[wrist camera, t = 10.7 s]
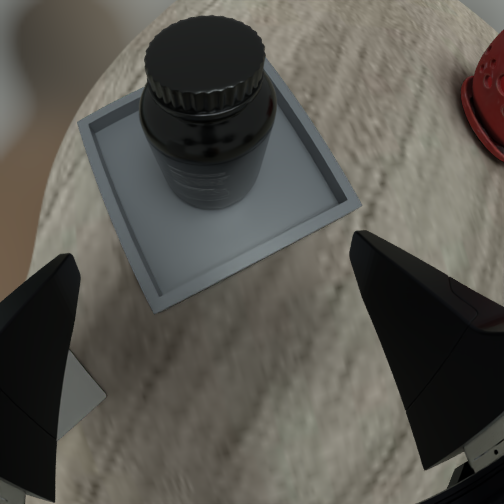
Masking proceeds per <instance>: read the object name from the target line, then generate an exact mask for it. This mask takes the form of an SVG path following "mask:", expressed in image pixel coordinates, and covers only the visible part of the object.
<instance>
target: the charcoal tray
mask: <svg viewBox="0 0 504 504" xmlns="http://www.w3.org/2000/svg"><path fill="white" fill-rule="evenodd" d="M264 72H265V73H266V74H267V76H268V77H269V79H270V80H271V82H272V84H273V87H274V89H275V92H276V98H277V111H276V117H275V121H274V125H273V128H272V132H271V135H270V138H269V142H268V145H267V148H266V152H265V155H264V159H263V162H262V166H261V169H260V172H259V175H258V178H257V180H256V182H255V184H254V186H253V187H252V189H251V190H250V191H249V192H248V193H247V194H246V195H245V196H244V197H243V198H242V199H240V200H239V201H237V202H235V203H233V204H231V205H229V206H226V207H222V208H215V209H206V208H199V207H195V206H192V205H190V204H188V203H186V202H184V201H183V200H181V199H180V198H179V197H178V196H177V195H176V194H175V193H174V192H173V191H172V190H171V188H170V187H169V185H168V183H167V181H166V180H165V178H164V175H163V173H162V171H161V169H160V167H159V165H158V163H157V161H156V158H155V156H154V154H153V152H152V150H151V148H150V146H149V143H148V141H147V139H146V137H145V135H144V132H143V129H142V127H141V123H140V120H139V102H140V97H141V94H142V91H143V89H144V87H143V88H141V89H139V90H137V91H134V92H132V93H130V94H128V95H126V96H124V97H122V98H120V99H118V100H116V101H114V102H112V103H110V104H109V105H107V106H105V107H103V108H101V109H99V110H97V111H96V112H94V113H92V114H90V115H88V116H87V117H85V118H83V119H81V120H80V121H78V122H77V124H78V127H79V131H80V134H81V137H82V140H83V143H84V147H85V150H86V153H87V156H88V159H89V162H90V165H91V167H92V170H93V173H94V176H95V179H96V182H97V184H98V187H99V190H100V193H101V195H102V198H103V200H104V203H105V206H106V208H107V211H108V213H109V216H110V218H111V221H112V223H113V226H114V228H115V231H116V233H117V235H118V238H119V240H120V242H121V245H122V247H123V249H124V252H125V254H126V256H127V258H128V261H129V263H130V265H131V267H132V270H133V272H134V274H135V276H136V278H137V280H138V282H139V285H140V287H141V289H142V291H143V293H144V295H145V297H146V299H147V301H148V303H149V305H150V307H151V309H152V311H153V313H154V314H157V313H160V312H162V311H164V310H166V309H168V308H170V307H172V306H174V305H176V304H178V303H180V302H181V301H183V300H185V299H187V298H189V297H191V296H193V295H195V294H197V293H199V292H201V291H203V290H205V289H207V288H209V287H211V286H213V285H214V284H216V283H218V282H220V281H222V280H224V279H226V278H228V277H230V276H232V275H234V274H236V273H238V272H240V271H241V270H243V269H245V268H247V267H249V266H251V265H253V264H255V263H257V262H259V261H261V260H263V259H264V258H266V257H268V256H270V255H272V254H274V253H276V252H278V251H280V250H282V249H284V248H285V247H287V246H289V245H291V244H293V243H295V242H297V241H299V240H301V239H303V238H304V237H306V236H308V235H310V234H312V233H314V232H316V231H318V230H320V229H321V228H323V227H325V226H327V225H329V224H331V223H333V222H335V221H336V220H338V219H340V218H342V217H344V216H346V215H348V214H350V213H351V212H353V211H355V210H356V209H358V208H359V207H361V206H362V204H361V202H360V200H359V199H358V197H357V195H356V193H355V191H354V190H353V188H352V186H351V184H350V183H349V181H348V179H347V178H346V176H345V174H344V172H343V171H342V169H341V167H340V166H339V164H338V162H337V161H336V159H335V157H334V156H333V154H332V152H331V151H330V149H329V148H328V146H327V144H326V143H325V141H324V140H323V138H322V137H321V135H320V133H319V132H318V130H317V129H316V127H315V126H314V124H313V123H312V121H311V120H310V118H309V117H308V115H307V114H306V112H305V111H304V109H303V108H302V106H301V105H300V103H299V102H298V101H297V99H296V98H295V96H294V95H293V93H292V92H291V91H290V89H289V88H288V86H287V85H286V84H285V82H284V81H283V80H282V78H281V77H280V76H279V74H278V73H277V71H276V70H275V69H274V67H273V66H272V65H271V64H270V62H269V61H268V60H267V58H266V57H265V62H264Z"/></svg>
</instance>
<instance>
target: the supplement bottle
mask: <svg viewBox="0 0 504 504" xmlns="http://www.w3.org/2000/svg"><path fill="white" fill-rule="evenodd" d="M264 51H265V46H264V45H263V43H262V39H261V38H260V37H259V36H258V35H257V32H256V31H254V30H252V28H251V27H250V26H248V25H245V24H244V23H243V22H241V21H236V20H235V19H233V18H226V17H224V16H213V15H210V16H198V17H190V18H188V19H185V20H180V21H178V22H177V23H174V24H171V25H170V26H169V27H167V28H165V29H163V30H162V31H161V32H160V33H159V34H157V35H156V36H155V37H154V40H152V41H151V42H150V44H149V47H148V48H147V50H146V56H145V58H144V62H145V71H146V75H147V83H146V85H145V87H144V89H143V91H142V94H141V97H140V102H139V120H140V123H141V127H142V129H143V132H144V135H145V137H146V139H147V141H148V143H149V146H150V148H151V150H152V152H153V154H154V156H155V158H156V161H157V163H158V165H159V167H160V169H161V171H162V173H163V175H164V178H165V180H166V181H167V183H168V185H169V187H170V188H171V190H172V191H173V192H174V193H175V194H176V195H177V196H178V197H179V198H180V199H181V200H183V201H184V202H186V203H188V204H190V205H192V206H195V207H199V208H206V209H215V208H222V207H226V206H229V205H231V204H233V203H235V202H237V201H239V200H240V199H242V198H243V197H244V196H245V195H246V194H247V193H248V192H249V191H250V190H251V189H252V187H253V186H254V184H255V182H256V180H257V178H258V175H259V172H260V169H261V166H262V162H263V159H264V155H265V152H266V148H267V145H268V142H269V138H270V135H271V132H272V128H273V125H274V121H275V117H276V111H277V98H276V92H275V89H274V87H273V84H272V82H271V80H270V79H269V77H268V76H267V74H266V73H265V72H264V62H265V57H266V55H265V52H264Z"/></svg>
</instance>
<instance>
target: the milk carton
mask: <svg viewBox="0 0 504 504" xmlns="http://www.w3.org/2000/svg"><path fill="white" fill-rule="evenodd" d="M105 398H106V394H105V393H104V391H103V390H102V389H101V388H100V387H99V386H98V384H97V383H96V382H95V381H94V380H93V379H92V377H91V376H90V375H89V374H88V373H87V371H86V370H85V369H84V368H83V366H82V365H81V364H80V363H79V361H78V360H77V359H76V358H75V356H74V355H73V354H72V352H71V351H70V350H69V351H68V357H67V362H66V368H65V374H64V381H63V388H62V395H61V403H60V411H59V421H58V432H57V441H58V440H59V439H60V438H62V437H63V436H64V435H65V434H66V433H67V432H68V431H69V430H71V429H72V428H73V427H74V426H75V425H76V424H77V423H78V422H80V421H81V420H82V419H83V418H84V417H85V416H86V415H87V414H88V413H90V412H91V411H92V410H93V409H94V408H95V407H96V406H97V405H98V404H100V403H101V402H102V401H103V400H104V399H105Z"/></svg>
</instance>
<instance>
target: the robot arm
mask: <svg viewBox="0 0 504 504" xmlns="http://www.w3.org/2000/svg"><path fill="white" fill-rule="evenodd" d="M349 257H350V261H351V264H352V267H353V270H354V274H355V277H356V280H357V283H358V286H359V290H360V293H361V296H362V299H363V301H364V304H365V306H366V308H367V311H368V313H369V315H370V318H371V320H372V323H373V325H374V328H375V330H376V332H377V335H378V337H379V340H380V342H381V345H382V348H383V350H384V353H385V355H386V358H387V360H388V363H389V366H390V368H391V371H392V374H393V377H394V379H395V382H396V385H397V388H398V390H399V393H400V396H401V399H402V402H403V405H404V408H405V410H406V414H407V417H408V420H409V423H410V426H411V429H412V432H413V436H414V439H415V442H416V445H417V449H418V452H419V455H420V459H421V462H422V465H423V468H424V470H428V469H430V468H432V467H434V466H436V465H438V464H440V463H443V462H445V461H447V460H449V459H451V458H453V457H455V456H456V455H458V454H460V453H462V452H465V455H466V457H467V460H468V461H467V462H465V463H464V464H462V465H460V466H459V467H457V468H456V469H455V470H454V472H453V475H452V477H451V480H450V482H449V485H448V487H447V489H446V490H444V491H442V492H440V493H438V494H436V495H434V496H432V497H430V498H428V499H426V500H423V501H421V502H419V503H417V504H504V307H503V306H501V305H499V304H497V303H496V302H494V301H492V300H490V299H488V298H486V297H485V296H483V295H481V294H479V293H477V292H475V291H474V290H472V289H470V288H468V287H467V286H465V285H463V284H461V283H460V282H458V281H456V280H455V279H453V278H451V277H448V275H446V274H445V273H443V272H441V271H439V270H438V269H436V268H434V267H433V266H431V265H429V264H427V263H426V262H424V261H422V260H420V259H419V258H417V257H415V256H413V255H411V254H410V253H408V252H406V251H404V250H402V249H401V248H399V247H397V246H395V245H393V244H391V243H390V242H388V241H386V240H384V239H382V238H380V237H378V236H377V235H375V234H373V233H371V232H369V231H367V230H361V231H355V232H354V234H353V237H352V242H351V247H350V252H349ZM80 280H81V277H80V272H79V270H78V267H77V265H76V262H75V259H74V257H73V255H72V254H70V253H66V254H60V255H58V256H57V257H56V258H54V259H53V260H52V261H50V262H49V263H48V264H46V265H45V266H44V267H43V268H41V269H40V270H39V271H37V272H36V273H35V274H34V275H32V276H31V277H30V278H29V279H28V280H26V281H25V282H24V283H23V284H22V285H20V286H19V287H18V288H17V289H15V290H14V291H13V292H12V293H11V294H10V295H8V296H7V297H6V298H5V299H4V300H3V301H1V302H0V504H25V498H26V495H30V496H33V497H36V498H39V499H43V500H46V501H50V502H54V503H55V472H56V448H57V432H58V421H59V411H60V403H61V395H62V388H63V381H64V374H65V368H66V362H67V357H68V351H69V346H70V341H71V336H72V332H73V327H74V322H75V316H76V309H77V301H78V294H79V287H80Z"/></svg>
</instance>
